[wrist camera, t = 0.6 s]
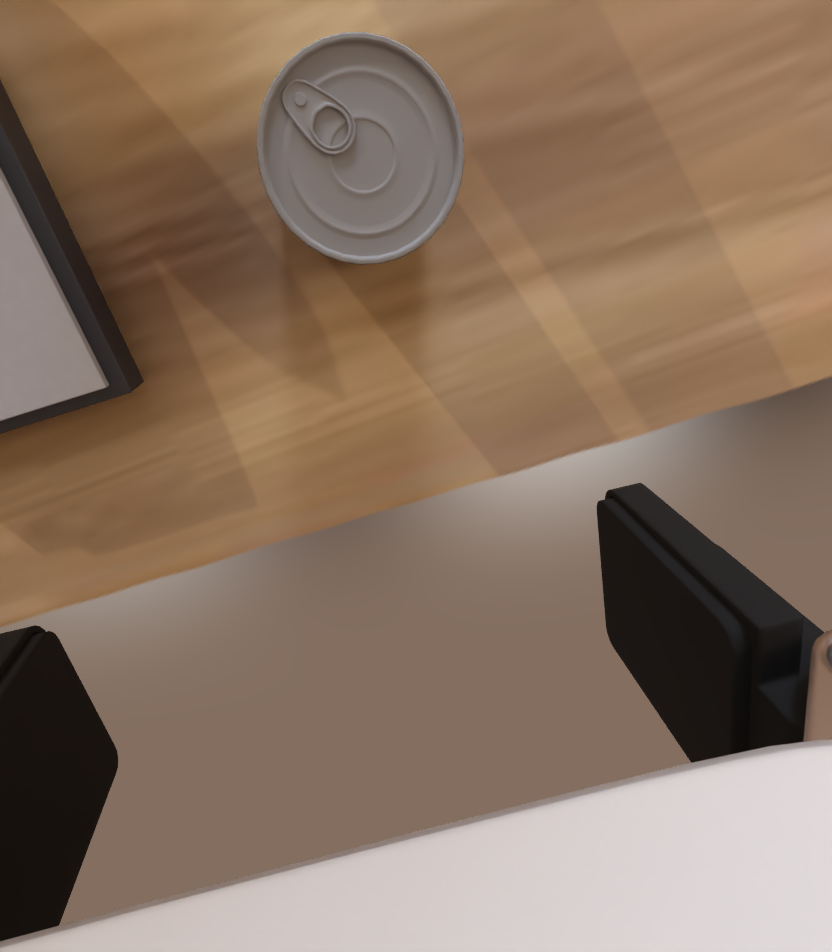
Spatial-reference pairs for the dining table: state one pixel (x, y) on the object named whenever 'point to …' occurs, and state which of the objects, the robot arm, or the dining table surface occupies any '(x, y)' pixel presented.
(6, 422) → the scale
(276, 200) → the canned tomato
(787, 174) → the dining table surface
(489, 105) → the dining table surface
